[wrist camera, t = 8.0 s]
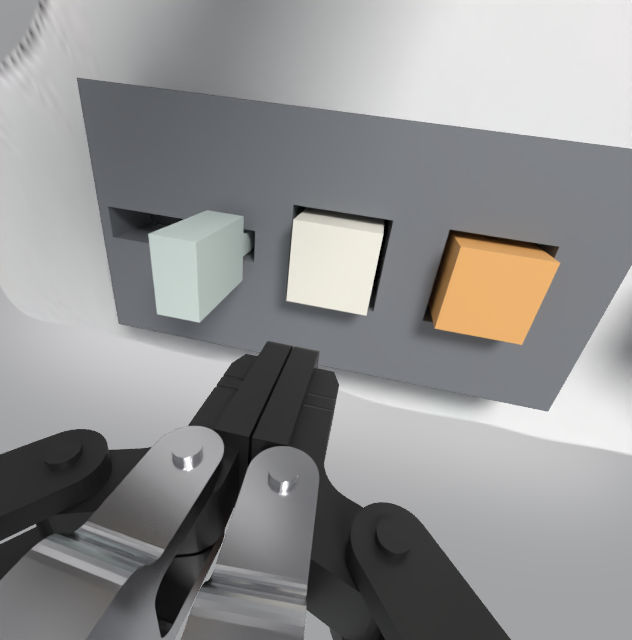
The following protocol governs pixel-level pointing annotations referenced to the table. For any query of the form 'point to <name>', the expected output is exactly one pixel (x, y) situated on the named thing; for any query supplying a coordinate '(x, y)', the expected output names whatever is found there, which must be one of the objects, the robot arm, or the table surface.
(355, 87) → the table surface
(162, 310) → the pale green rectangular block
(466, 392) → the switch panel
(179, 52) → the table surface
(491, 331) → the orange button
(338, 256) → the cream button
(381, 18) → the table surface
